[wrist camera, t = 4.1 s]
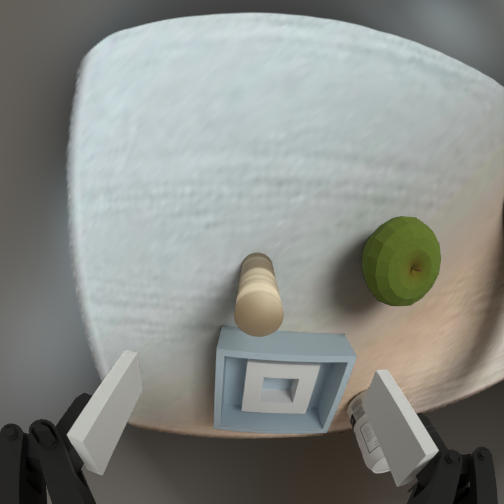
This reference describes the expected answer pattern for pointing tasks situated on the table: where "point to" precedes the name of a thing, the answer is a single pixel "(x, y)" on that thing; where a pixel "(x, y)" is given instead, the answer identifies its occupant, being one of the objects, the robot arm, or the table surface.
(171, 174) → the table surface
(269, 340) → the crate
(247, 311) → the peg
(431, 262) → the apple
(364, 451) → the supplement can
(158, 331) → the table surface
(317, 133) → the table surface
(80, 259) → the table surface
